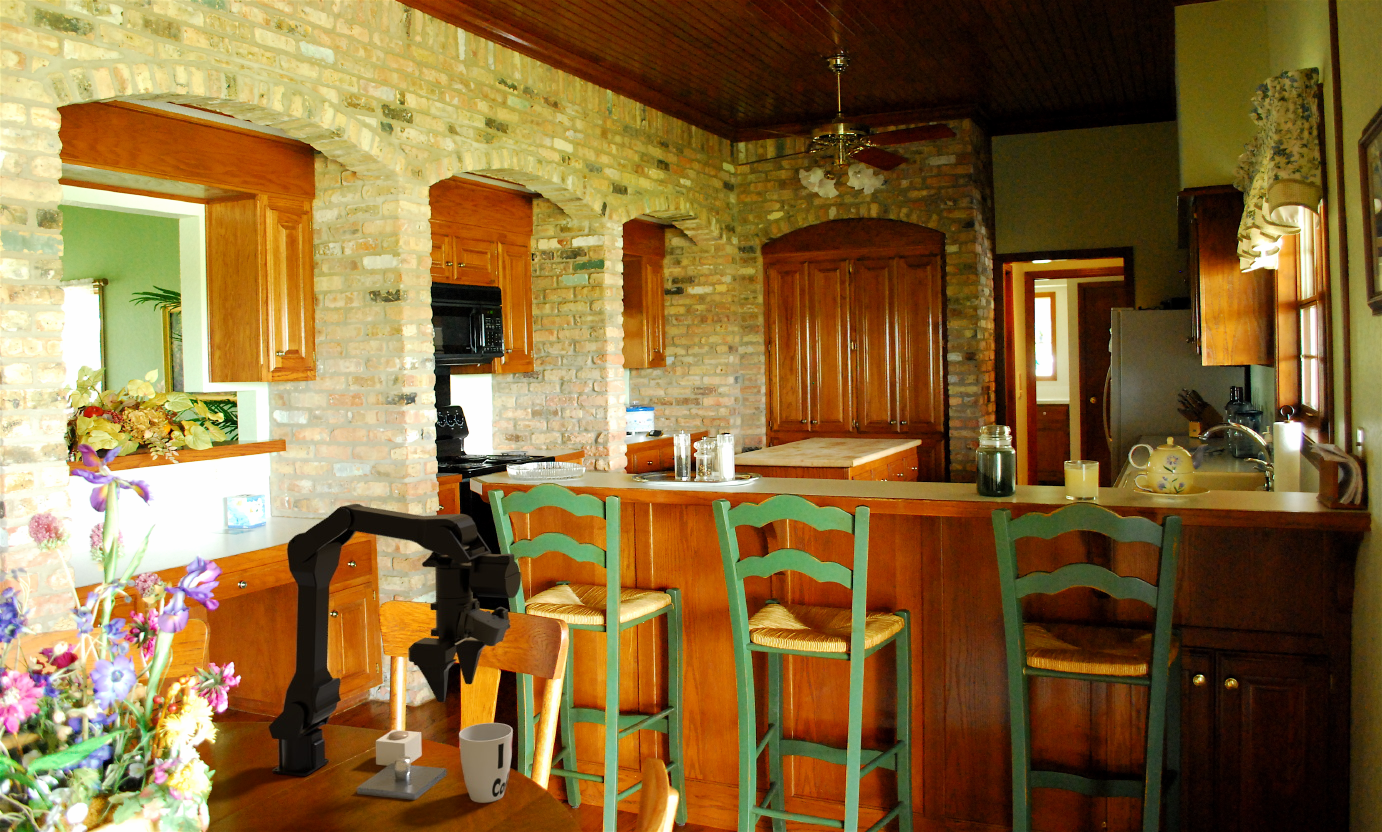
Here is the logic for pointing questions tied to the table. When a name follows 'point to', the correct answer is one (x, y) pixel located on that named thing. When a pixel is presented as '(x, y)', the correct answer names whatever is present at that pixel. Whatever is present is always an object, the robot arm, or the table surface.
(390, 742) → the cap
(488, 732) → the cup
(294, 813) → the table surface
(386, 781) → the post fixture
